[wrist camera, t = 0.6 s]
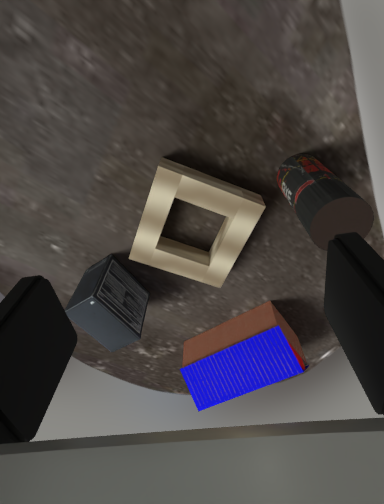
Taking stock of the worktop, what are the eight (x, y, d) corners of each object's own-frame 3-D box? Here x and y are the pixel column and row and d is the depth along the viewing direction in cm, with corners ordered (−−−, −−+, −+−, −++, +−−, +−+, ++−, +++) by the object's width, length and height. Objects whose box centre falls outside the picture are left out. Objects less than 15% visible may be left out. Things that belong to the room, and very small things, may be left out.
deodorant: (325, 184, 42) (379, 236, 30) (284, 202, 44) (319, 259, 31) (313, 145, 40) (366, 185, 27) (270, 166, 41) (301, 213, 29)
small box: (83, 270, 52) (59, 313, 43) (111, 252, 49) (92, 294, 41) (124, 308, 56) (110, 354, 47) (151, 293, 54) (142, 339, 45)
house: (181, 340, 61) (178, 394, 51) (270, 297, 54) (286, 350, 44) (214, 371, 66) (217, 426, 56) (299, 336, 59) (319, 390, 49)
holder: (161, 157, 41) (158, 165, 37) (260, 195, 43) (265, 206, 40) (133, 244, 48) (128, 258, 45) (218, 272, 51) (220, 287, 48)
